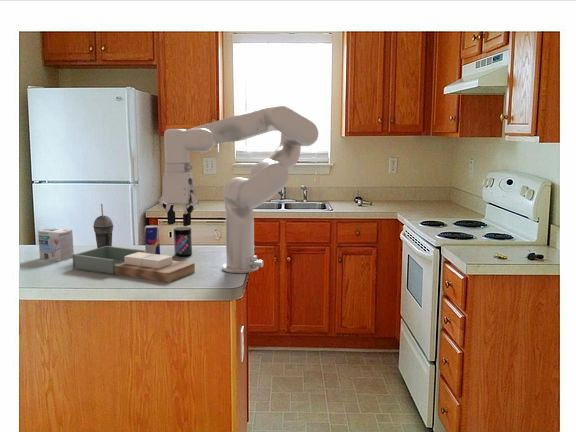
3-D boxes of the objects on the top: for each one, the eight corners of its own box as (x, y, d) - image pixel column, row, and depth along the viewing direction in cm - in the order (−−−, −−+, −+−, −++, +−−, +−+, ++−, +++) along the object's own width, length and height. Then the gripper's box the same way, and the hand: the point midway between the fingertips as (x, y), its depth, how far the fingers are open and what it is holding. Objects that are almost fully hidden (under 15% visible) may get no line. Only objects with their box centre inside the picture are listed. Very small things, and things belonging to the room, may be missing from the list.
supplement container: (171, 255, 202) (170, 228, 201) (186, 252, 207) (185, 226, 205) (180, 258, 198) (179, 230, 196) (195, 255, 202) (194, 228, 200)
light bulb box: (39, 258, 197) (37, 230, 195) (53, 254, 203) (51, 227, 201) (61, 261, 193) (59, 232, 191) (74, 257, 199) (73, 229, 197)
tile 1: (154, 261, 181) (154, 254, 180) (141, 265, 175) (140, 258, 174) (138, 259, 184) (138, 252, 183) (124, 263, 178) (124, 256, 177)
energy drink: (151, 260, 195) (150, 228, 193) (142, 257, 198) (141, 226, 196) (163, 257, 199) (162, 226, 197) (154, 255, 202) (152, 224, 200)
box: (145, 264, 189) (144, 250, 188) (113, 275, 174) (112, 260, 174) (107, 258, 196) (106, 245, 196) (73, 269, 182) (72, 254, 181)
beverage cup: (96, 259, 196) (93, 205, 193) (93, 255, 202) (90, 203, 199) (116, 257, 199) (113, 204, 196) (113, 253, 206) (110, 202, 202)
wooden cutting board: (194, 271, 179) (194, 263, 178) (168, 282, 166) (168, 273, 166) (143, 264, 188) (143, 256, 187) (115, 274, 175) (114, 265, 175)
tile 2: (172, 263, 178) (172, 256, 177) (159, 268, 172) (158, 260, 171) (155, 261, 181) (155, 254, 180) (142, 266, 174) (141, 258, 174)
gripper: (206, 168, 167) (208, 225, 170) (163, 166, 174) (165, 221, 177) (192, 170, 160) (194, 229, 163) (148, 168, 167) (150, 224, 170)
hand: (179, 224), depth 170 cm, fingers open, 5 cm apart
